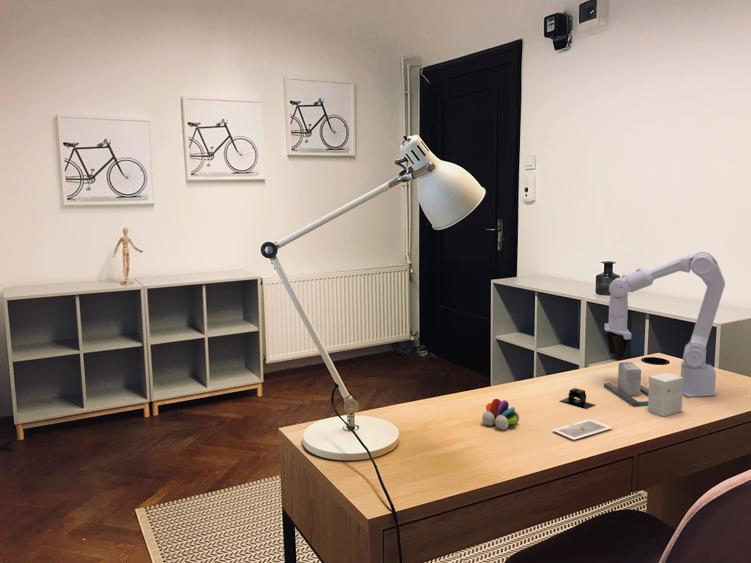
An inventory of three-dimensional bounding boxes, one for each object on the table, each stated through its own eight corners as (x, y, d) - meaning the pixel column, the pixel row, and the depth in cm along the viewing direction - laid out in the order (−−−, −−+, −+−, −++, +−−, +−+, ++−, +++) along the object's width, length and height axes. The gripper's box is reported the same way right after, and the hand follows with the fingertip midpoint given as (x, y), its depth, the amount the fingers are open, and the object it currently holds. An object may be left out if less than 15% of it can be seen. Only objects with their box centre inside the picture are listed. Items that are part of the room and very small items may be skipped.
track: (635, 385, 212) (635, 381, 211) (667, 404, 193) (667, 401, 193) (603, 386, 210) (603, 383, 210) (633, 406, 192) (633, 403, 192)
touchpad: (613, 431, 175) (613, 423, 175) (573, 443, 167) (574, 435, 167) (590, 422, 182) (590, 415, 181) (551, 433, 174) (551, 426, 174)
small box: (665, 406, 192) (667, 372, 190) (682, 412, 187) (684, 377, 185) (646, 411, 188) (648, 376, 187) (663, 417, 183) (665, 381, 182)
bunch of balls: (495, 416, 187) (495, 392, 185) (524, 424, 180) (524, 399, 179) (477, 424, 181) (477, 399, 180) (506, 433, 174) (507, 407, 173)
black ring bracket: (552, 402, 198) (553, 388, 198) (565, 397, 203) (566, 383, 202) (589, 413, 189) (589, 397, 188) (602, 406, 194) (602, 392, 193)
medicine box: (640, 396, 201) (641, 369, 200) (626, 396, 201) (627, 369, 200) (631, 387, 209) (632, 362, 208) (617, 388, 209) (618, 362, 208)
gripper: (596, 311, 217) (594, 350, 219) (617, 320, 203) (615, 362, 205) (616, 310, 218) (614, 349, 220) (638, 319, 203) (636, 361, 206)
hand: (616, 355), depth 212 cm, fingers open, 4 cm apart
